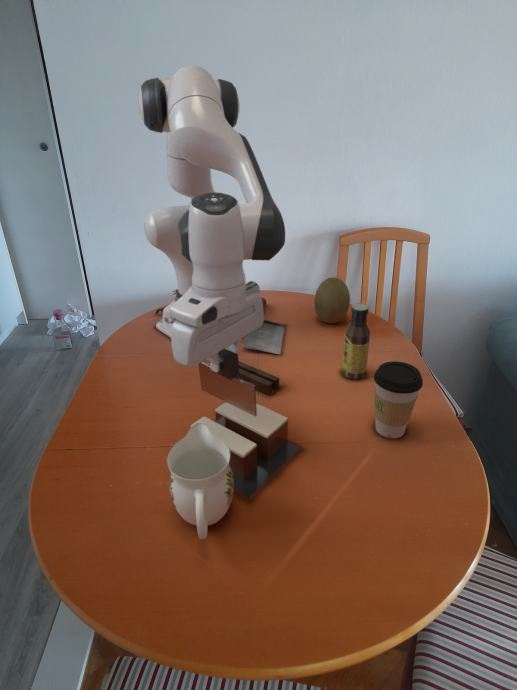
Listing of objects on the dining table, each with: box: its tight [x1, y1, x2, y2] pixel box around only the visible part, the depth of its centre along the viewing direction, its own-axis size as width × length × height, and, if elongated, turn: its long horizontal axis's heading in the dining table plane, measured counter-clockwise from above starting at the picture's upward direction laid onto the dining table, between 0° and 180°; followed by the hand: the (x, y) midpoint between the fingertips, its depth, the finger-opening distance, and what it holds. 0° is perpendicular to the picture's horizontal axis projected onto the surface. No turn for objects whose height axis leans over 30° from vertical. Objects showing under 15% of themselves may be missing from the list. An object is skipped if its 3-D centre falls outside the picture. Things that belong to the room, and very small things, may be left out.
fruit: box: [313, 277, 351, 325], centre depth 142 cm, size 11×11×15 cm
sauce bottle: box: [341, 302, 371, 380], centre depth 113 cm, size 6×6×20 cm
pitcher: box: [166, 423, 235, 540], centre depth 76 cm, size 11×18×14 cm, turn 6°
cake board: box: [214, 401, 301, 499], centre depth 91 cm, size 20×17×7 cm
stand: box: [236, 360, 280, 396], centre depth 116 cm, size 16×4×3 cm, turn 52°
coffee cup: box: [373, 360, 424, 439], centre depth 95 cm, size 10×10×15 cm
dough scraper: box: [197, 348, 257, 417], centre depth 83 cm, size 14×2×11 cm, turn 51°
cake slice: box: [189, 416, 257, 481], centre depth 89 cm, size 14×4×7 cm, turn 52°
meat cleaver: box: [242, 296, 286, 355], centre depth 142 cm, size 34×11×4 cm, turn 173°
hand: (223, 365), depth 82 cm, fingers closed on dough scraper, 2 cm apart
